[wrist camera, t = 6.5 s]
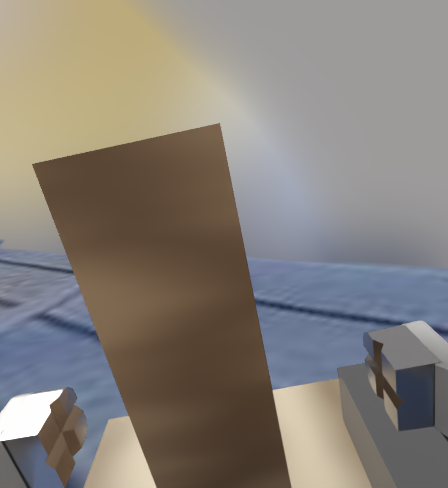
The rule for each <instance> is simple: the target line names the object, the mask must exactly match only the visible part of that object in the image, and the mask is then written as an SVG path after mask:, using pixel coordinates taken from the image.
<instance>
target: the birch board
mask: <svg viewBox="0 0 448 488" xmlns="http://www.w3.org/2000/svg"><path fill="white" fill-rule="evenodd" d="M272 391H273V396H274V401H275V406H276V411H277V416H278V421H279V426H280V431H281V436H282V442H283V447H284V452H285V457H286V462H287V467H288V472H289V477H290V482H291V487H292V488H372V486H371V484H370V482H369V479H368V477H367V475H366V472H365V470H364V468H363V465H362V463H361V461H360V458H359V456H358V454H357V451H356V449H355V447H354V444H353V442H352V440H351V437H350V435H349V433H348V430H347V428H346V426H345V423H344V421H343V414H342V405H341V397H340V388H339V379H333V380H327V381H321V382H316V383H310V384H305V385H299V386H293V387H288V388H282V389H277V390H272ZM84 488H156V485H155V482H154V480H153V477H152V475H151V472H150V469H149V467H148V464H147V462H146V459H145V456H144V454H143V451H142V449H141V446H140V443H139V441H138V438H137V436H136V433H135V430H134V428H133V425H132V423H131V420H130V417H129V416H125V417H120V418H114V419H109V420H108V423H107V426H106V428H105V431H104V434H103V437H102V439H101V442H100V445H99V448H98V450H97V453H96V456H95V458H94V461H93V464H92V467H91V469H90V472H89V475H88V477H87V480H86V483H85V486H84Z"/></svg>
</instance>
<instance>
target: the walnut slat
mask: <svg viewBox="0 0 448 488" xmlns="http://www.w3.org/2000/svg"><path fill="white" fill-rule="evenodd" d="M32 165H33V168H34V170H35V173H36V176H37V178H38V181H39V184H40V186H41V189H42V191H43V194H44V196H45V199H46V202H47V204H48V207H49V210H50V212H51V215H52V217H53V220H54V222H55V225H56V228H57V230H58V233H59V236H60V238H61V240H62V243H63V246H64V249H65V251H66V254H67V256H68V259H69V262H70V264H71V267H72V269H73V272H74V275H75V277H76V280H77V282H78V285H79V288H80V290H81V293H82V295H83V298H84V301H85V303H86V306H87V308H88V311H89V314H90V316H91V319H92V321H93V324H94V326H95V329H96V332H97V334H98V337H99V339H100V342H101V345H102V347H103V350H104V352H105V355H106V358H107V360H108V363H109V365H110V368H111V371H112V373H113V376H114V378H115V381H116V384H117V386H118V389H119V391H120V394H121V397H122V399H123V402H124V404H125V407H126V410H127V412H128V415H129V417H130V420H131V423H132V425H133V428H134V430H135V433H136V436H137V438H138V441H139V443H140V446H141V449H142V451H143V454H144V456H145V459H146V462H147V464H148V467H149V469H150V472H151V475H152V477H153V480H154V482H155V485H156V488H292V487H291V482H290V477H289V472H288V467H287V462H286V457H285V452H284V447H283V442H282V436H281V431H280V426H279V421H278V416H277V411H276V406H275V401H274V396H273V391H272V386H271V381H270V376H269V370H268V365H267V360H266V355H265V350H264V345H263V340H262V335H261V330H260V325H259V320H258V315H257V309H256V304H255V299H254V294H253V289H252V284H251V279H250V274H249V269H248V264H247V259H246V254H245V249H244V244H243V239H242V234H241V228H240V223H239V218H238V213H237V208H236V203H235V198H234V193H233V188H232V182H231V178H230V172H229V167H228V162H227V157H226V152H225V147H224V142H223V137H222V132H221V127H220V123H219V124H214V125H210V126H205V127H200V128H196V129H191V130H187V131H182V132H177V133H173V134H168V135H164V136H159V137H154V138H150V139H145V140H141V141H136V142H132V143H127V144H122V145H118V146H113V147H108V148H104V149H100V150H95V151H90V152H86V153H81V154H76V155H72V156H67V157H62V158H58V159H54V160H49V161H44V162H39V163H35V164H32Z"/></svg>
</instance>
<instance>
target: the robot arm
mask: <svg viewBox="0 0 448 488" xmlns="http://www.w3.org/2000/svg"><path fill="white" fill-rule="evenodd" d="M363 344H364V347H365V348H366V350H367V351H368V355H367V356H366V358H365V366H366V372H367V375H368V379H369V382H370V384H371V386H372V388H373V390H374V392H375V394H376V395H377V396H378V397H380V398H382V399H384V404H385V410H386V412H387V414H388V415H389V417H390V419H391V420H392V422H393V424H394V425H395V427H396V428H397V430H398V431H405V430H412V429H420V428H427V427H434V426H435V429H437V430H438V431H440V432H441V433H443V434H444V435H446V436H447V437H448V343H447V342H446V341H445V340H444V339H443V338H442V337H441V336H439V335H438V334H437V333H436V332H435V331H434V330H433V329H432V328H431V327H430V326H429V325H428V324H426V323H425V322H423V321H416V322H411V323H407V324H402V325H400V326H395V327H390V328H385V329H379V330H374V331H369V332H364V335H363ZM76 400H77V396H76V394H75V392H74V390H73V388H70V387H64V388H58V389H51V390H45V391H39V392H34V393H28V394H22V395H17V396H15V397H13V398H12V399H11V400H10V401H9V403H8V404H7V405H6V406H5V408H4V409H3V410H2V412H1V413H0V488H65V486H66V484H67V482H68V479H69V477H70V475H71V472H72V470H73V467H74V465H75V461H74V458H73V456H74V455H75V454H76V453H77V452H78V451H79V450H80V449H81V448H82V446H83V443H84V441H85V438H86V432H87V422H86V417H85V414H84V412H83V410H82V409H80V408H79V407H77V406H76V405H75V403H76Z"/></svg>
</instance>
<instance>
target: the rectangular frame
mask: <svg viewBox="0 0 448 488" xmlns="http://www.w3.org/2000/svg"><path fill="white" fill-rule="evenodd" d="M337 370H338V379H339V388H340V397H341V405H342V414H343V421H344V423H345V426H346V428H347V430H348V433H349V435H350V437H351V440H352V442H353V444H354V447H355V449H356V451H357V454H358V456H359V458H360V461H361V463H362V465H363V468H364V470H365V472H366V475H367V477H368V479H369V482H370V484H371V486H372V488H448V437H447V436H446V435H444V434H443V433H441V432H440V431H438V430H437V429H435V426H434V427H427V428H420V429H412V430H405V431H398V430H397V428H396V427H395V425H394V424H393V422H392V420H391V419H390V417H389V415H388V414H387V412H386V410H385V404H384V399H382V398H380V397H378V396H377V395H376V394H375V392H374V390H373V388H372V386H371V384H370V382H369V379H368V375H367V372H366V366H365V363H362V364H357V365H351V366H345V367H340V368H337Z"/></svg>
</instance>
